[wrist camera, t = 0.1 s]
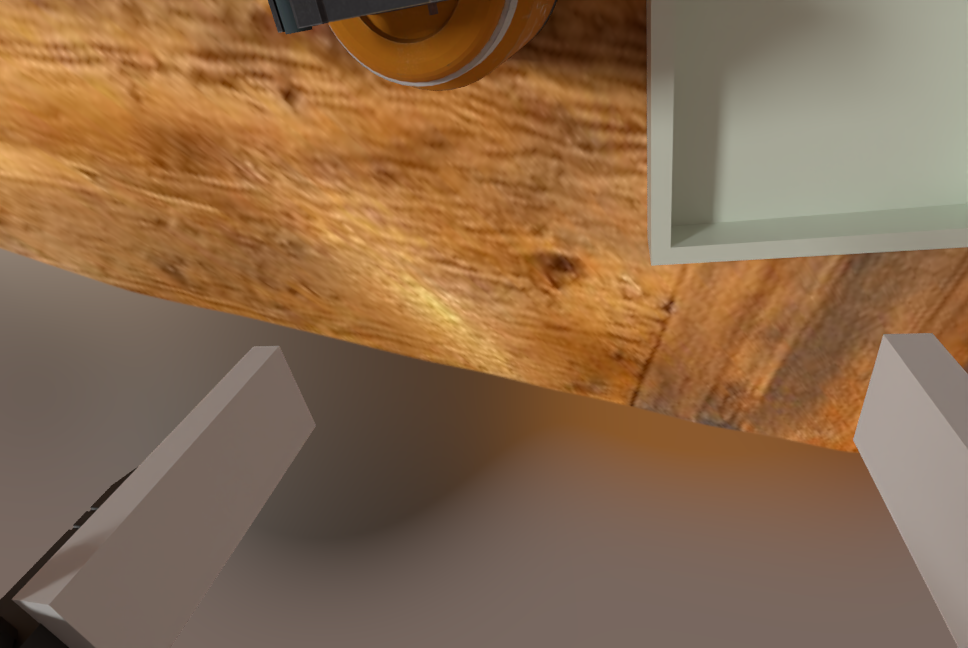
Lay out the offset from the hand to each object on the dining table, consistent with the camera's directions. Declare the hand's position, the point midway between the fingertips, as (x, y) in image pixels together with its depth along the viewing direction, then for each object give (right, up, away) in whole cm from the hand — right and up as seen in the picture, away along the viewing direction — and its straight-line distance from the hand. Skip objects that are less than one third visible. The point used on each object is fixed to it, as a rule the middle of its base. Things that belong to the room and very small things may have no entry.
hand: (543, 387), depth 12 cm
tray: (+19, +16, +19) cm, 31 cm away
